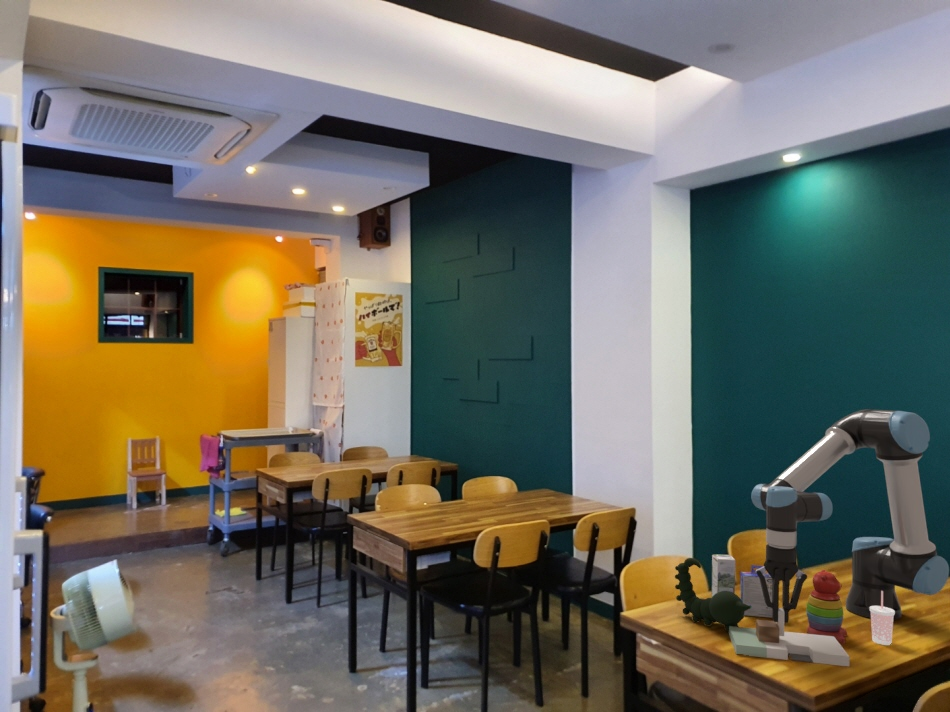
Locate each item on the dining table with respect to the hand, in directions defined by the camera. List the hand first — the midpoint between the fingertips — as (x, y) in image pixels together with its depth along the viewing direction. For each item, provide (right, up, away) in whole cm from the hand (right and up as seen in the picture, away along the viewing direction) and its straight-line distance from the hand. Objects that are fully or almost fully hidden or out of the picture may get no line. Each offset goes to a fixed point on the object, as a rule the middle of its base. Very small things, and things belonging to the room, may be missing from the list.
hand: (780, 634), depth 184 cm
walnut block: (-3, -2, +1) cm, 4 cm away
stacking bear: (+18, -5, +11) cm, 22 cm away
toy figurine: (-12, -5, +17) cm, 22 cm away
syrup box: (-1, -5, +39) cm, 40 cm away
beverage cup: (+31, -5, +7) cm, 33 cm away
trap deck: (+1, -4, 0) cm, 4 cm away
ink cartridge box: (+5, -5, +27) cm, 28 cm away
